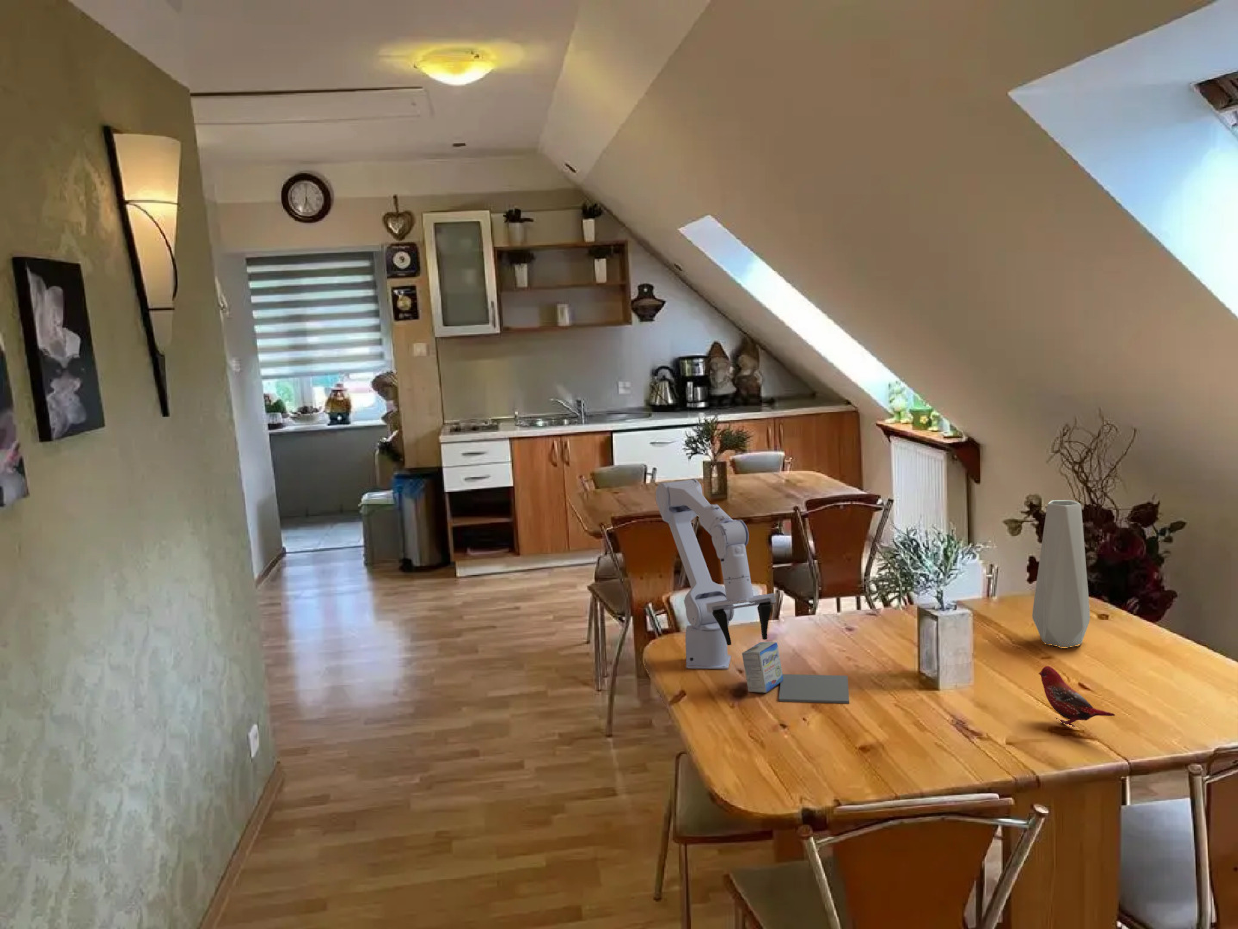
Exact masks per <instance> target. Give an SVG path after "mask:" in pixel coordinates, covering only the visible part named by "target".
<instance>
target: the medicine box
mask: <svg viewBox="0 0 1238 929" xmlns="http://www.w3.org/2000/svg"><path fill="white" fill-rule="evenodd" d="M778 646H779V645H778V643H777V642H775V641H761V642H758V643H757V644H754V645H753V646H752V647H750V648H748V649H747V650H745V651H743V652H741V655H742V662H743V668H744V673H745V678H746V684H747V690H748V692H751V693H766V694H767V693H768V692H770V691H771V690H773V689H774V688H775V687H777V686H778V685H779V684H781V682H782V681H783V674H784V673H783V670H782V664H781V658H780V650H779V647H778Z"/></svg>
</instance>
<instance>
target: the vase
mask: <svg viewBox="0 0 1238 929" xmlns="http://www.w3.org/2000/svg"><path fill="white" fill-rule="evenodd" d="M1082 511H1083V510H1082V505H1081V503H1079V502H1077V501H1075V500H1072V499H1071V500H1070V499H1063V500H1062V499H1058V500H1053V499H1052V500H1050V501H1049V502H1048V503H1047V506H1046V513H1045V519H1044V526H1043V532H1042V539H1041V540H1042V541H1041V547H1040V554H1039V555H1040V556H1039V562H1038V569H1037V576H1036V583H1035V590H1034V591H1035V592H1034V597H1033V598H1034V599H1033V607H1032V613H1031V614H1032V615H1031V616H1032V620H1033V622H1034V625H1035V627H1036V629H1037V631H1038V634H1039V636H1040V639H1041V642H1044V643H1046V644H1052V645H1057V646H1060V647H1070V646H1075V645H1078V644H1081V645H1082V642H1083V640H1084V638H1085V635H1086V632H1087V629H1088V628H1089V624H1090V620H1091V619H1090V618H1091V613H1090V612H1091V611H1090V601H1089V600H1090V598H1089V587H1088V586H1089V584H1088V573H1087V564H1086V562H1087V560H1086V559H1087V558H1086V549H1085V536H1084V535H1085V534H1084V523H1083V512H1082ZM1044 643H1043V644H1044ZM1046 644H1045V645H1046Z"/></svg>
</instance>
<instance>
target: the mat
mask: <svg viewBox="0 0 1238 929" xmlns="http://www.w3.org/2000/svg"><path fill="white" fill-rule="evenodd" d="M782 674H783V681H782V682H781V683H779V684H780V686H779V692H778V693H779V694H778V702H791V703H818V704H819V703H820V704H821V703H822V704H823V703H825V704H850V694H849V693H850V692H849V679H848V675H834V674H833V675H831V674H830V675H829V674H828V675H827V674H795V673H794V674H792V673H791V674H790V673H789V674H788V673H782Z"/></svg>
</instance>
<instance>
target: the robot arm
mask: <svg viewBox="0 0 1238 929" xmlns="http://www.w3.org/2000/svg"><path fill="white" fill-rule="evenodd" d="M655 502H656V506H657V508H658V511H659V514H660V516H661V518H662V521H663V522H665V523H668V526H669V528H670V532H671V534H672V537H673V540H674V543H675V545H676V548H677V552H678V554H679V557H680V559H681V562H682V565H683V568H684V571H685V574H686V577H687V579H688V583H689V585H690V589H689V591H688V592H686V595H685V596H684V599H683V602H684V609H685V615H686V619H687V621H688V624H690V625H687V626H686V627H685V635H684V636H685V638H684V642H685V657H686V658H685V659H686V660H685V662H686V665H685V668H686V669H702V670H703V669H704V670H705V669H706V670H708V669H709V670H715V669H716V670H728V669H729V666H730V662H731V659H732V655H730V654H729V653H728V646H732V639H731V635H730V630H729V626H730V622H731V621H732V620H733V618H734V616H735V609H740V608H747V607H748V608H749V607H754V606H757V607H756V609H757V612H758V616H759V617H758V618H759V622H760V632H761V637H762V640H768V626H769V621H770V616H771V614H772V612H771V611H772V609H773V604H774V603H775V604H776V603H777V602H776V595H775V593H773V592H772V593H767V594H766V593H765V594H758V595H754V592H753V585H752V580H751V579H752V578H751V572H750V567H749V562H748V561H749V560H748V555H747V548H746V547H747V545H748V544H749V540H750V538H749V537H750V534H749V530H748V529H749V528H748V527H747V525H746V523H745V522H744V521H743V520H742V519H733V518H732V517H731V516H730V515H729V514H727V513H726V512H725V510H723V509H722V508H721V507H720V506H719V504H717V503H715V504H711V503H710V502H709V501H708V500H707V499H706V496H704V494H703V488H702V484H701V483H700V481H698V480H697V479H696V478H691V479H686V480H685V479H684V480H676V481H669V482H662V481H661V482H659V483H658V485H657V487H656V490H655ZM696 517H698V521H699V524H700V526H701V527H702V528H703V529H704V530H705V531H706V532H708V534H709V535H710V536H711V541H712V545H713V547H714V549H715V552H716V556H717V559H719V560H720V567H721V573H722V578H723V579H722V580H723V585H720V584H718V583H716V582H715V581H713V580H712V577H711V574H710V572H709V568H708V567H707V563H706V560H705V558H704V555H703V552H702V549H701V546H700V544H699V542H698V539H697V536H696V533H695V531H694V528H693V526H692V520H694V519H696ZM744 603H747V604H744Z"/></svg>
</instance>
